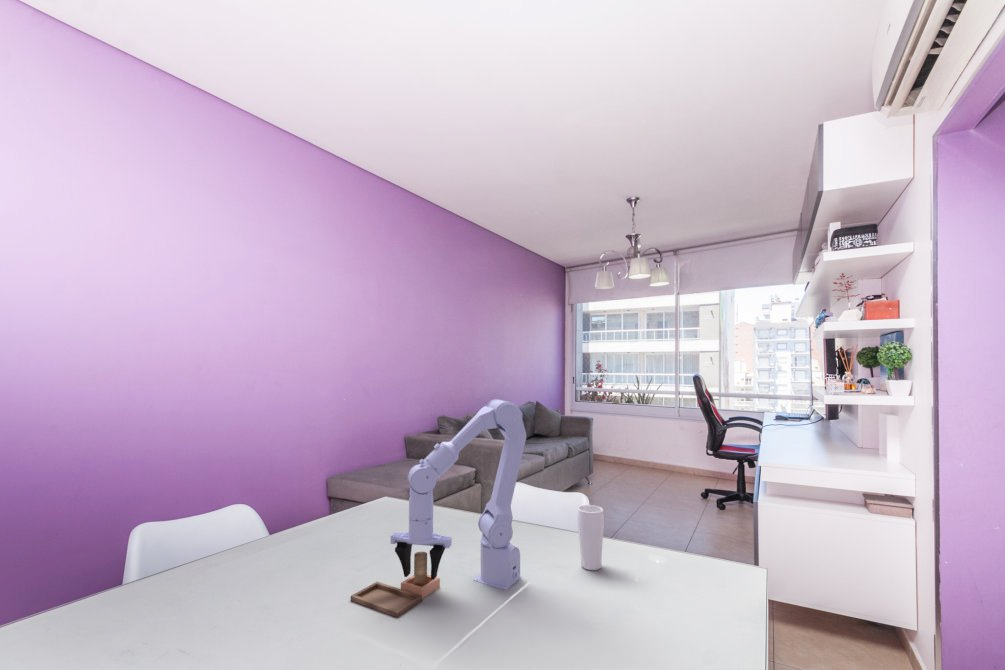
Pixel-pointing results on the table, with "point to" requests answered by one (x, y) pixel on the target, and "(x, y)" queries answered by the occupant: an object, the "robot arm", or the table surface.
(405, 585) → the open box
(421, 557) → the dowel
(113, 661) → the table surface
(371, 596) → the tray
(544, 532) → the table surface
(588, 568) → the drinking glass
